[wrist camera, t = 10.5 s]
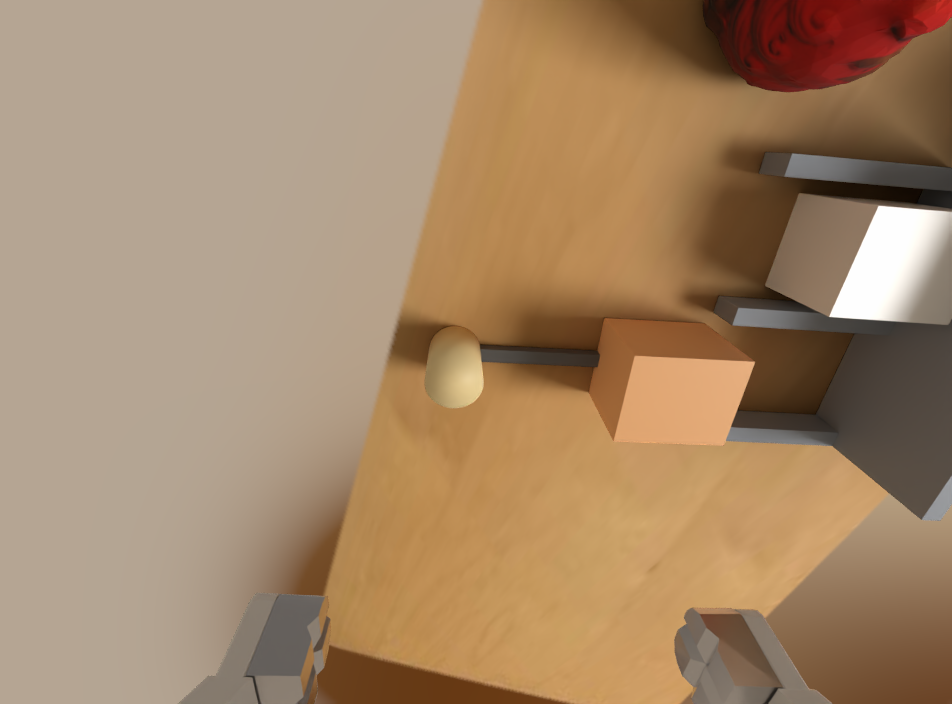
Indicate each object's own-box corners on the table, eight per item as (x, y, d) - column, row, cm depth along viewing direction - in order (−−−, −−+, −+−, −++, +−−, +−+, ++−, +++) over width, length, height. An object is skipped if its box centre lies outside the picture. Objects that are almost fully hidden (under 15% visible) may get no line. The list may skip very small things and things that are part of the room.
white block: (797, 192, 23) (878, 205, 19) (905, 202, 24) (1009, 216, 19) (763, 285, 26) (829, 316, 21) (862, 292, 26) (948, 325, 21)
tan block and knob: (430, 308, 25) (424, 345, 21) (704, 323, 26) (755, 361, 22) (428, 385, 27) (422, 434, 23) (681, 396, 28) (723, 445, 24)
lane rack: (765, 152, 22) (911, 158, 15) (952, 168, 23) (1177, 183, 16) (678, 420, 29) (749, 513, 22) (823, 428, 30) (940, 520, 23)
